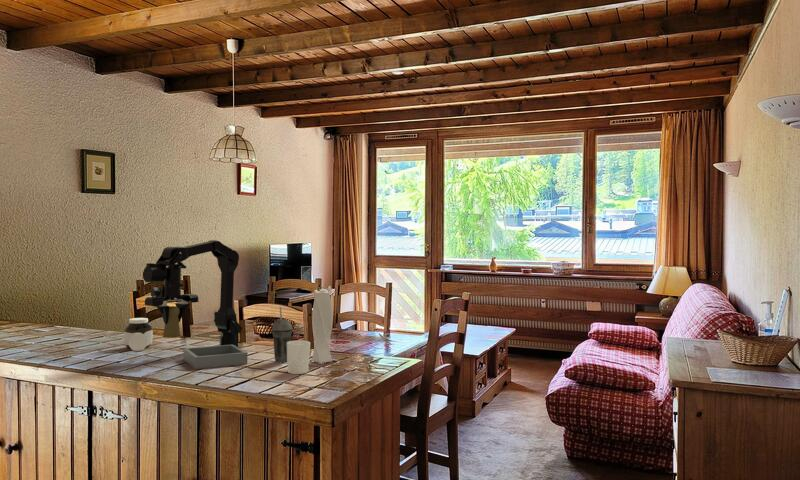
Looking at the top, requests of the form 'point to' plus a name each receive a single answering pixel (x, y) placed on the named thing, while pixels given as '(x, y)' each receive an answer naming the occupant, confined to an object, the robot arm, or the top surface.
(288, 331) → the beverage cup
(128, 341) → the spread jar
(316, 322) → the grey tall twisted column
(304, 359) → the white cup
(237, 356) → the tray
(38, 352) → the top surface
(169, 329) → the olive gourd-shaped piece
